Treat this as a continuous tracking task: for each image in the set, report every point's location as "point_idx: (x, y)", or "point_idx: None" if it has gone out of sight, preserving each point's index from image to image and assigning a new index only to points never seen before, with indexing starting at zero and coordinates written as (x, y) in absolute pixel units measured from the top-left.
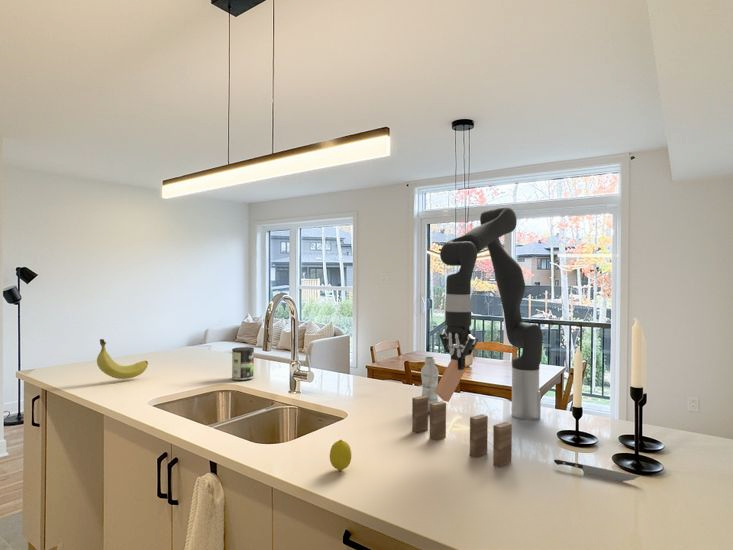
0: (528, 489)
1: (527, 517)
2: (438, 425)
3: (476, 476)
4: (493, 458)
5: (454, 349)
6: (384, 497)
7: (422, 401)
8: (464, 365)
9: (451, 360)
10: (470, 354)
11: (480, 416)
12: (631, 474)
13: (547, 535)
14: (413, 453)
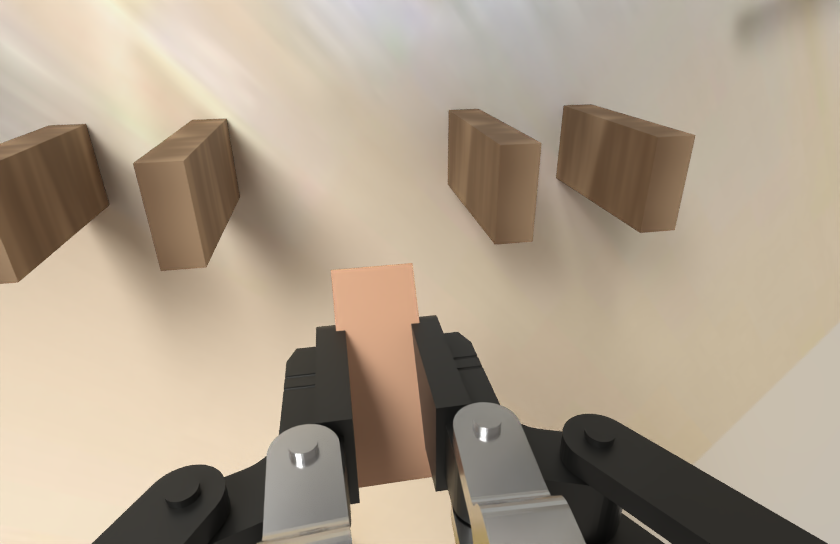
0: (704, 206)
1: (749, 318)
2: (223, 190)
3: (559, 273)
4: (571, 187)
5: (272, 520)
6: None
7: (10, 219)
8: (473, 357)
9: (358, 484)
10: (614, 428)
11: (520, 184)
12: None
13: (801, 334)
14: (308, 334)
